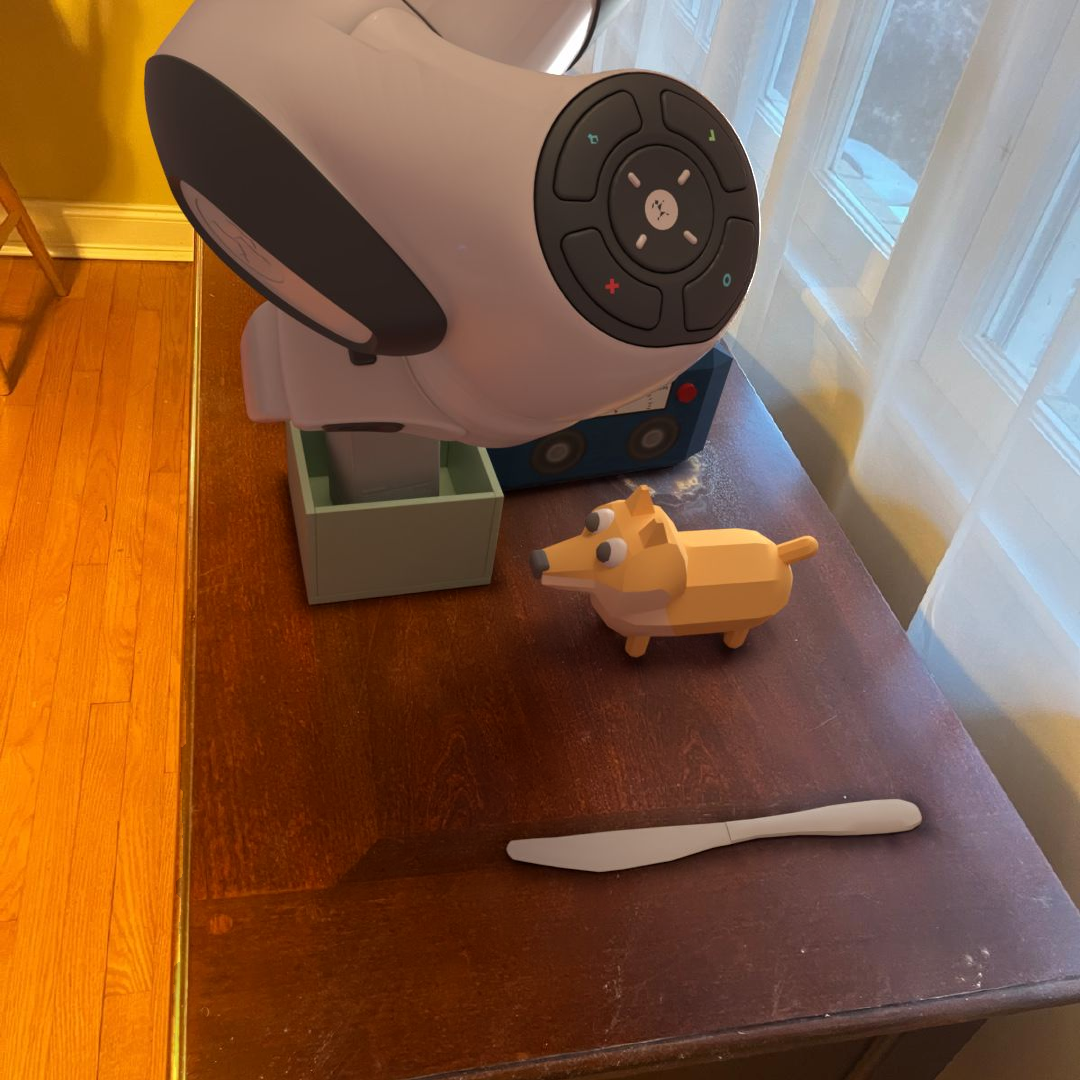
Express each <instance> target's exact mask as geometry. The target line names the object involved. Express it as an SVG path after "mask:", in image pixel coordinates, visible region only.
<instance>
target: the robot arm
mask: <svg viewBox="0 0 1080 1080" xmlns="http://www.w3.org/2000/svg"><path fill="white" fill-rule="evenodd" d="M631 1H632V0H194V1H193V2H192V3H191V5H190V6H189V7H188V8H187V9H186V10H185V12H184V14H183V15H182V16H181V17H180V19H179V20H178V21H177V23H176V24H175V25H174V27H173V28H172V29H171V30H170V32H169V33H168V34H167V36H166V37H164V40H162V42H161V43H160V45H159V46H158V48H157V49H156V50H155V52H154V54H153V55H151V56H150V57H148V59H147V60H146V61H145V65H144V74H143V75H144V76H143V77H144V78H143V95H144V104H145V105H144V106H145V112H146V117H147V122H148V126H149V131H150V135H151V138H152V140H153V141H152V142H153V144H154V147H155V150H156V153H157V157H158V160H159V162H160V165H161V169H162V171H163V173H164V176H165V179H166V181H167V182H166V183H167V184H168V187H169V190H170V193H171V194H172V197H173V198H174V201H175V202H176V204H177V205H178V208H179V209H180V211H181V213H182V214H183V215H184V217H185V219H186V220H187V221H188V223H189V224H190V225H191V227H192V228H193V230H194V231H195V232H196V233H197V235H198V236H199V237H200V238H201V241H203V242H204V243H205V244H206V245H207V247H208V248H209V249H210V250H211V251H212V253H214V254H215V255H216V257H217V258H218V259H219V260H220V261H222V263H224V265H225V266H227V267H228V269H230V270H231V271H232V272H233V273H234V274H235V275H236V276H237V277H238V278H240V280H242V281H243V282H244V283H245V284H247V285H248V286H249V287H250V288H251V289H253V290H254V291H255V292H256V293H258V294H259V295H260V296H261V297H263V298H264V299H265V300H266V301H265V302H263V303H262V304H260V305H259V306H258V307H256V309H255V310H254V311H253V313H252V314H251V315H250V317H249V319H248V320H247V323H246V325H245V327H244V329H243V332H242V334H241V338H240V345H239V349H240V364H241V366H240V367H241V378H242V387H243V388H242V389H243V396H244V403H245V404H244V405H245V409H246V414H247V418H248V419H249V420H250V421H251V422H253V423H262V424H263V423H264V424H268V423H280V422H286V421H292V424H293V426H294V427H296V428H298V429H300V430H303V431H321V430H324V431H326V432H384V433H394V432H401V433H408V434H413V435H418V436H423V437H428V438H432V439H438V440H444V441H459V442H462V443H465V444H468V445H472V446H477V447H484V448H504V447H512V446H517V445H520V444H524V443H527V442H530V441H532V440H535V439H537V438H540V437H543V436H546V435H549V434H551V433H554V432H557V431H559V430H562V429H565V428H567V427H569V426H571V425H573V424H575V423H577V422H579V421H580V420H585V419H590V418H594V417H597V416H600V415H602V414H605V413H608V412H611V411H614V410H616V409H619V408H621V407H623V406H626V405H628V404H630V403H633V402H635V401H637V400H639V399H641V398H643V397H645V396H647V395H649V394H651V393H654V392H656V391H658V390H660V389H662V388H663V387H665V386H667V385H668V384H670V383H672V382H673V381H674V380H675V379H676V378H677V377H678V376H679V375H680V374H681V373H683V372H684V371H685V370H687V369H688V368H689V367H691V366H692V365H693V364H695V363H696V362H697V361H698V360H699V359H700V358H702V357H703V356H704V355H705V354H706V353H707V352H709V351H710V350H711V349H712V348H713V347H714V345H715V344H716V343H717V342H718V341H719V342H720V340H721V339H722V338H723V337H724V335H725V334H726V333H727V331H728V330H729V329H730V327H732V325H733V323H734V321H736V318H737V316H738V314H739V312H740V311H741V309H742V306H743V305H744V303H745V301H746V298H747V295H748V293H749V290H750V288H751V285H752V282H753V279H754V276H755V273H756V269H757V264H758V257H759V252H760V243H761V209H760V206H761V205H760V198H759V191H758V186H757V181H756V176H755V174H754V169H753V167H752V163H751V161H750V158H749V155H748V152H747V150H746V148H745V146H744V144H743V142H742V140H741V138H740V136H739V135H738V133H737V131H736V129H735V128H734V126H733V125H732V124H731V122H730V120H729V119H728V118H727V117H726V115H725V114H724V113H723V112H722V111H721V110H720V108H718V106H717V105H716V104H715V103H714V102H713V101H712V100H711V99H709V98H708V97H707V96H706V95H705V94H704V93H702V92H701V91H700V90H698V88H695V87H694V86H692V85H690V84H689V83H688V82H685V81H684V80H681V79H679V78H678V77H675V76H673V75H670V74H667V73H665V72H661V71H656V70H651V69H645V68H619V69H611V70H604V71H598V72H592V73H591V72H590V73H583V74H565V73H567V72H568V71H570V70H571V69H572V68H573V67H574V66H575V65H576V64H578V62H579V61H580V60H581V58H582V57H583V56H584V55H586V53H587V52H588V51H589V49H591V47H592V46H593V45H594V43H595V42H596V41H597V40H598V39H599V38H600V36H601V35H602V34H604V32H605V31H606V30H607V29H608V28H609V27H610V25H611V24H612V23H613V22H614V20H615V19H616V18H617V17H618V16H619V15H620V14H621V13H622V11H623V10H624V9H625V8H626V7H627V6H628V4H629V3H630V2H631Z"/></svg>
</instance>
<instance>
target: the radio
mask: <svg viewBox="0 0 1080 1080" xmlns="http://www.w3.org/2000/svg"><path fill="white" fill-rule="evenodd" d="M733 361H734V358H733V356H732V355H731V354H730V353H729V352H728V350H727V349H726V348H725V347H724V346H723V344H721V342H720V340H719V341H718V342H717V343H716V344H715V345H714V347H713V348H712V349H711V350H710V351H709V352H707V353H706V354H705V355H704V356H703V357H702V358H700V359H699V360H698V361H697V362H696V363H695V364H693V365H692V366H691V367H689V368H688V369H687V370H685V371H684V372H683V373H681V374H680V375H679V376H678V377H677V378H676V379H675V380H674V381H673V382H672V383H670V384H668V385H667V386H665V387H663V388H662V389H660V390H658V391H656V392H654V393H651V394H649V395H647V396H645V397H643V398H641V399H639V400H637V401H635V402H633V403H630V404H628V405H626V406H623V407H621V408H619V409H616V410H614V411H611V412H608V413H605V414H602V415H600V416H597V417H594V418H590V419H585V420H580V421H579V422H577V423H575V424H573V425H571V426H569V427H567V428H565V429H562V430H559V431H557V432H554V433H551V434H549V435H546V436H543V437H540V438H537V439H535V440H532V441H530V442H527V443H524V444H520V445H517V446H512V447H504V448H486V451H487V453H488V456H489V459H490V461H491V464H492V467H493V469H494V472H495V474H496V477H497V480H498V482H499V485H500V488H501V490H502V492H507V491H515V490H522V489H529V488H534V487H541V486H548V485H554V484H561V483H566V482H567V483H568V482H575V481H580V480H587V479H594V478H601V477H606V476H607V477H608V476H613V475H614V476H615V475H620V474H627V473H634V472H640V471H645V470H652V469H653V470H654V469H659V468H666V467H673V466H677V465H680V464H681V463H682V462H684V461H686V460H688V459H689V458H691V457H693V456H695V455H696V454H698V453H700V452H702V451H703V450H704V449H705V445H706V443H707V438H708V436H709V432H710V431H711V428H712V424H713V422H714V418H715V415H716V412H717V409H718V406H719V403H720V400H721V397H722V394H723V391H724V388H725V385H726V382H727V379H728V376H729V374H730V373H729V372H730V370H731V367H732V364H733Z"/></svg>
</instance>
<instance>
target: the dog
mask: <svg viewBox="0 0 1080 1080" xmlns="http://www.w3.org/2000/svg"><path fill="white" fill-rule="evenodd" d="M584 524H585V525H584V528H583V530H582V533H581V534H579V535H576V536H574V537H571V538H569V539H566V540H563V541H561V542H558V543H555V544H552V545H550V546H547V547H545V548H541V549H532V550H531V551H530V554H529V559H528V564H529V567H530V571H531V575H532V577H533V578H534V579H536V580H539V581H540V584H541V585H542V586H545V587H548V588H554V589H556V590H558V591H559V590H560V591H570V592H581V593H589V599H590V604H591V606H592V607H593V608H594V610H595V612H596V613H597V614H598V615H599V617H600V619H601V620H602V621H603V622H604V623H605V625H606V626H607V627H608V628H609V629H612V630H613V631H614V632H616V633H618V634H619V635H621V636H623V637H627V638H626V641H625V647H624V650H625V652H626V653H627V654H628V655H629V657H632V658H639V657H641V656H643V655H644V654H645V653H646V650H647V648H648V645H649V642H650V639H651V637H683V636H693V635H705V634H717V633H723V643H724V644H725V645H726V646H727V647H728V648H730V649H737V648H739V647H741V646H743V645H744V643H745V640H746V638H747V637H748V633H749V632H750V629H752V628H756V627H758V626H762V625H763V624H764V623H766V622H767V621H768V620H769V619H771V618H773V616H775V615H777V613H779V612H780V611H781V610H782V609H783V608H784V607H786V605H788V603H789V599H790V596H791V591H792V587H793V580H794V575H793V571H792V567H791V565H792V564H796V563H798V562H801V561H804V560H807V559H811V558H813V557H815V555H816V554H817V553H818V550H819V542H818V541H817V539H816V538H814V537H813V536H811V535H803V536H800V537H797V538H793V539H791V540H788V541H784V542H782V543H779V544H776V543H774V542H773V541H772V540H771V539H769V538H768V537H766V536H764V535H763V534H761V533H760V532H758V531H757V530H751V529H745V528H738V527H736V528H735V527H734V528H719V529H717V528H716V529H698V530H683V531H678V529H677V527H676V525H675V523H674V521H673V520H672V519H671V518H670V517H669V516H668V514H666V512H665V511H664V509H662V507H661V506H660V505H656V504H654V503H653V500H652V496H651V493H650V489H649V486H648V485H647V484H640V485H639V486H638V487H637V488H636V489H635V490H634V491H633V492H632V493H631V494H630V495H629V497H627V498H626V499H617V500H613V501H611V502H608V503H605V504H601V505H599V506H597V507H596V508H594V509H593V510H592V511H591V513H589V514H588V515H587V516H586V518H585V520H584Z"/></svg>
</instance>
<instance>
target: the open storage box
mask: <svg viewBox="0 0 1080 1080" xmlns="http://www.w3.org/2000/svg"><path fill="white" fill-rule="evenodd" d="M285 440H286V442H285V443H286V457H287V458H286V462H287V464H286V465H287V479H288V480H287V482H288V488H289V495H290V499H291V507H292V512H293V518H294V524H295V531H296V537H297V542H298V548H299V555H300V560H301V567H302V571H303V579H304V585H305V590H306V596H307V602H308V605H309V606H311V605H320V604H329V603H338V602H346V601H355V600H364V599H373V598H381V597H390V596H391V597H392V596H398V595H399V596H400V595H408V594H416V593H423V592H424V593H425V592H431V591H432V592H433V591H441V590H442V591H443V590H451V589H458V588H459V589H460V588H467V587H476V586H484V585H486V586H487V585H490V584H491V580H492V575H493V568H494V562H495V556H496V550H497V543H498V537H499V530H500V524H501V517H502V511H503V504H504V500H505V499H504V498H505V494H504V493H503V491H502V490H501V488H500V485H499V482H498V480H497V477H496V474H495V472H494V469H493V467H492V464H491V461H490V459H489V456H488V453H487V451H486V448H484V447H477V446H472V445H468V444H465V443H462V442H459V441H444V440H440V483H439V497H428V498H416V499H405V500H393V501H382V502H370V503H358V504H347V505H335V506H334V505H333V503H332V500H331V498H330V496H329V493H330V492H329V476H328V464H327V452H326V440H325V431H324V430H321V431H303V430H300V429H298V428H296V427H294V426H293V424H292V421H285Z"/></svg>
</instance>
